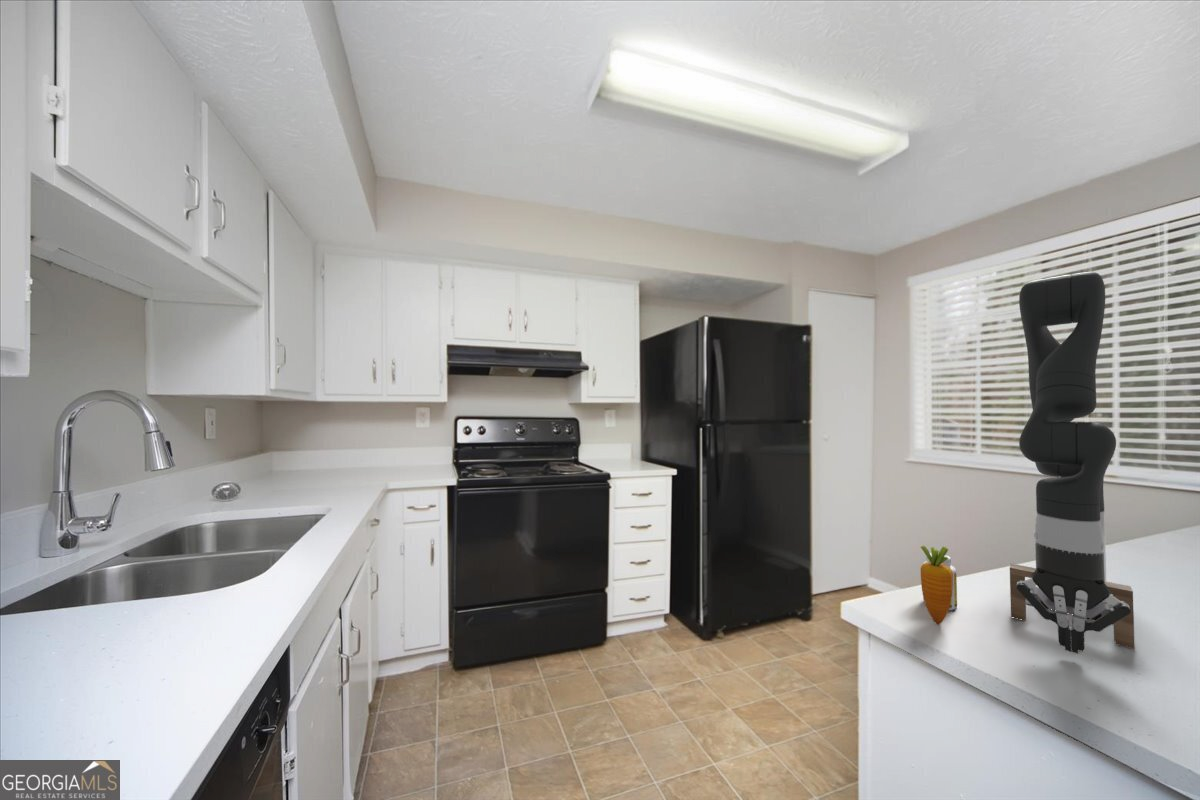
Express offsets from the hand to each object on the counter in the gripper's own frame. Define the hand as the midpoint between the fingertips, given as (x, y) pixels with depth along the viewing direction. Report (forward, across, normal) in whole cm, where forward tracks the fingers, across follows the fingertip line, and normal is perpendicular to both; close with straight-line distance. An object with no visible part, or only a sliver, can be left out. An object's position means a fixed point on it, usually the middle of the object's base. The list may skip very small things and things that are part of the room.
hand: (1071, 649), depth 69 cm
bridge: (+2, 0, -13) cm, 13 cm away
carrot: (+2, +17, +2) cm, 17 cm away
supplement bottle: (+2, +18, -8) cm, 20 cm away
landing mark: (+2, 0, -27) cm, 27 cm away
